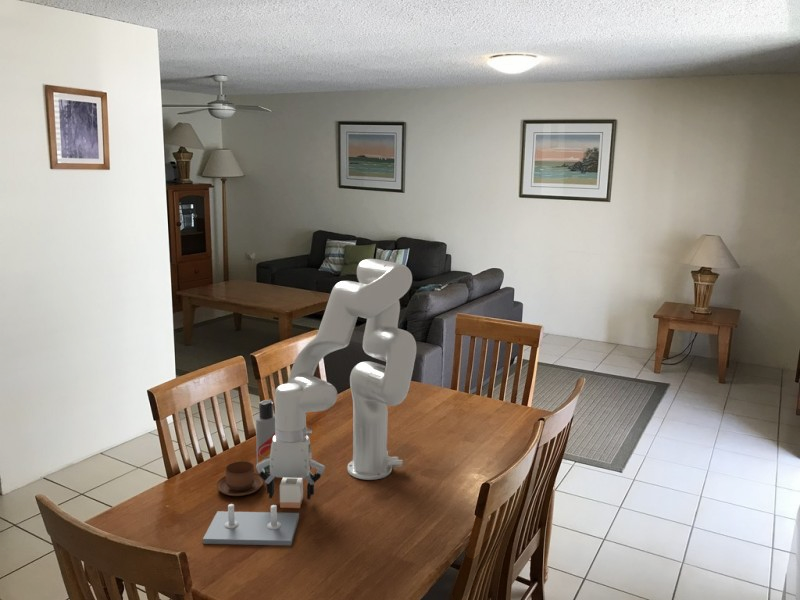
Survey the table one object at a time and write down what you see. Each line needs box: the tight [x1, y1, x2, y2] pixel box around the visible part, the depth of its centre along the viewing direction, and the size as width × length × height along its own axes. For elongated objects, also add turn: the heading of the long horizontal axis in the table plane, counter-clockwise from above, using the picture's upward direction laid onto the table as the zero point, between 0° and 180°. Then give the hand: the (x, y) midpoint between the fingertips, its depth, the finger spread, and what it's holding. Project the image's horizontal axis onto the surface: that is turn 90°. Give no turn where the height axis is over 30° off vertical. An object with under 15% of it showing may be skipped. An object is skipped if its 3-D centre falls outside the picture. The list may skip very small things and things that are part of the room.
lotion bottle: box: [255, 399, 275, 473], centre depth 185 cm, size 6×6×20 cm
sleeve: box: [279, 477, 304, 509], centre depth 168 cm, size 5×5×6 cm
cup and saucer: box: [216, 460, 264, 497], centre depth 174 cm, size 12×12×6 cm
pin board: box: [202, 503, 300, 546], centre depth 155 cm, size 20×12×6 cm, turn 90°
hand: (290, 496), depth 168 cm, fingers open, 9 cm apart
